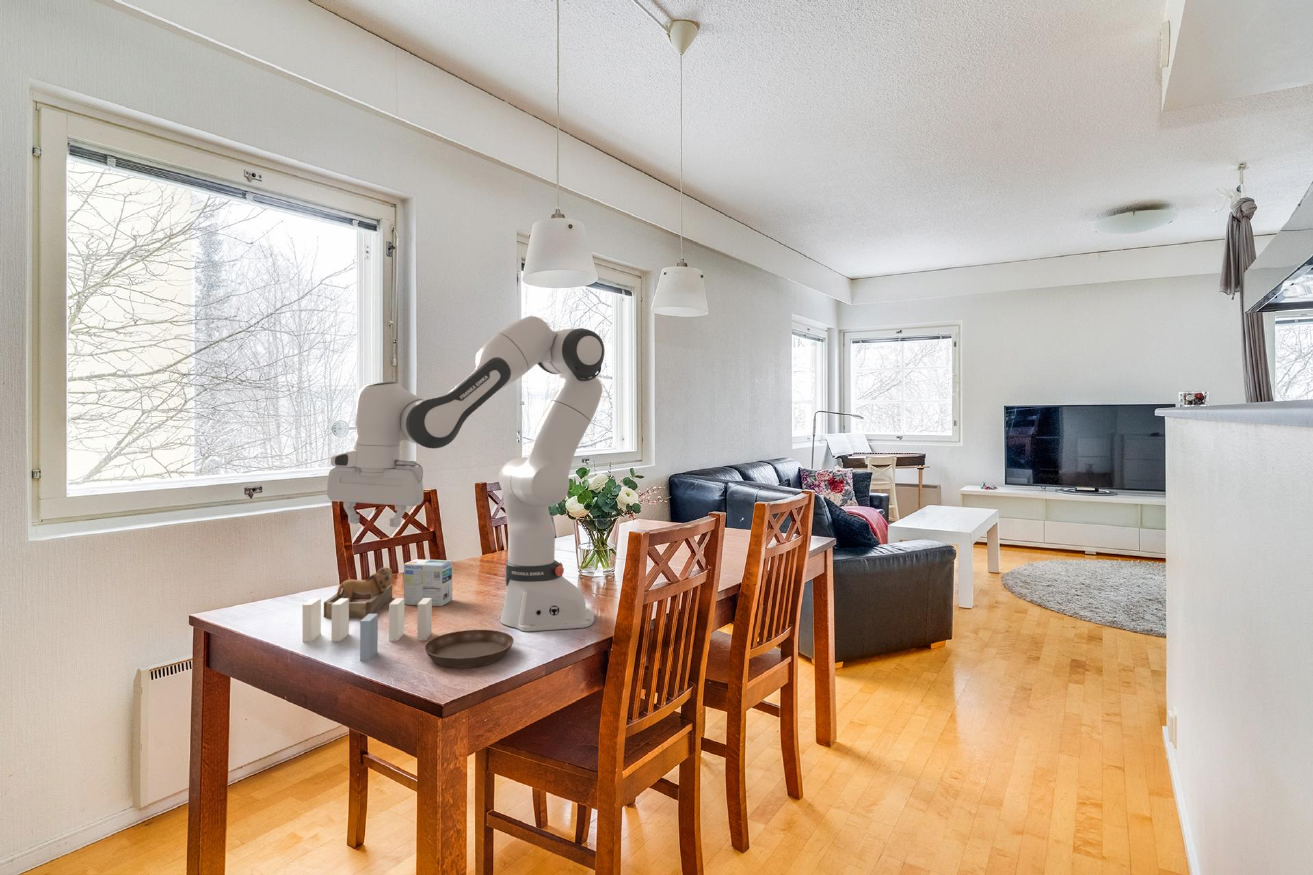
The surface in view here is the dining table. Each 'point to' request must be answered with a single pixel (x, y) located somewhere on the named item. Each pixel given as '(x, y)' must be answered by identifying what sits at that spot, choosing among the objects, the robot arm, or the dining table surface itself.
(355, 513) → the robot arm
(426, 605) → the domino
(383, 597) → the brown tray
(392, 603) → the domino
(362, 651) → the domino
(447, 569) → the light bulb box
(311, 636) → the domino
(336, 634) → the domino
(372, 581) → the lion figurine
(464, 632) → the plant saucer
